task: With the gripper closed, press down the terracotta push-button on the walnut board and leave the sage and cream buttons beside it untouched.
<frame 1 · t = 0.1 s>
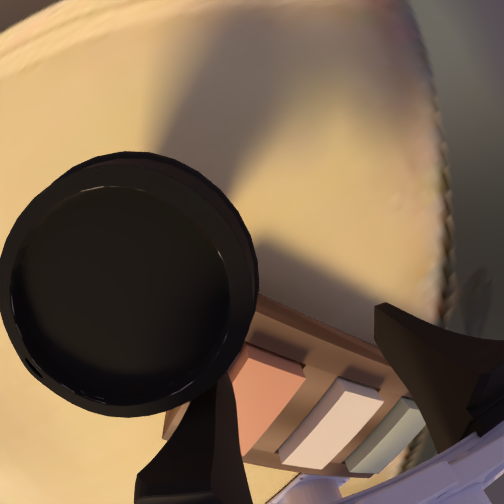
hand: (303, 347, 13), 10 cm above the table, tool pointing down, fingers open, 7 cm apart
button board: (314, 396, 27), on the table
coffee cup: (175, 222, 22), on the table
sage button: (385, 432, 25), point 4 cm above the table, slide at 0.0 cm
terracotta button: (243, 397, 22), point 4 cm above the table, slide at 0.0 cm
cream button: (325, 420, 23), point 3 cm above the table, slide at 0.0 cm
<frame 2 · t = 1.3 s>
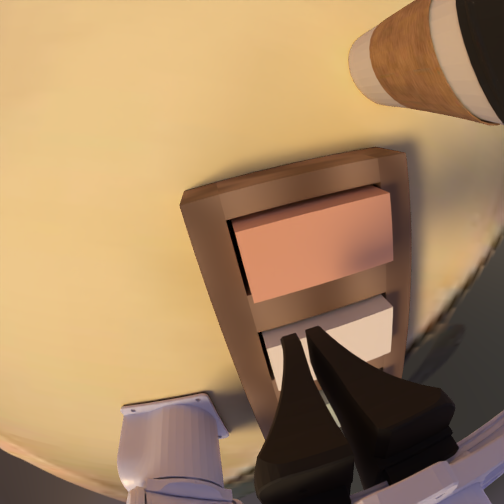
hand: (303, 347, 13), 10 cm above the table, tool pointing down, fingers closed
button board: (312, 310, 25), on the table
coffee cup: (381, 69, 19), on the table
sage button: (332, 398, 25), point 4 cm above the table, slide at 0.0 cm
terracotta button: (312, 235, 19), point 3 cm above the table, slide at 0.0 cm
cream button: (326, 335, 22), point 4 cm above the table, slide at 0.0 cm
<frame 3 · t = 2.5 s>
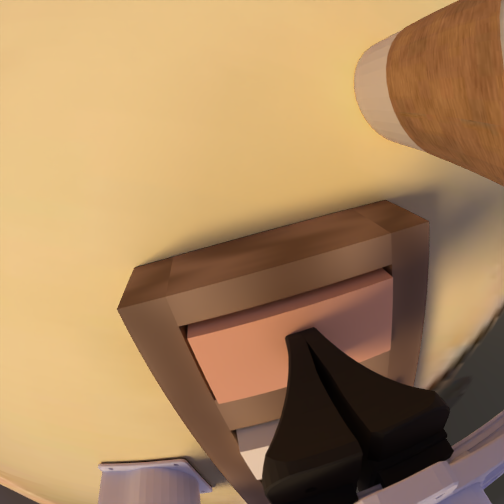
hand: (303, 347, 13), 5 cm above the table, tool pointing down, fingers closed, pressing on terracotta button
button board: (299, 387, 21), on the table
coffee cup: (398, 91, 14), on the table
terracotta button: (291, 323, 15), point 3 cm above the table, slide at 0.9 cm, touching gripper
cream button: (312, 424, 17), point 4 cm above the table, slide at 0.0 cm
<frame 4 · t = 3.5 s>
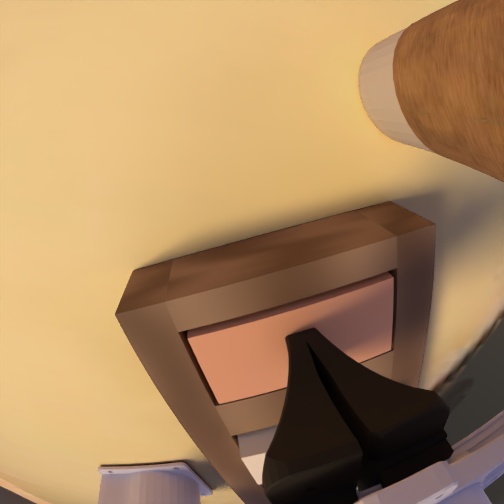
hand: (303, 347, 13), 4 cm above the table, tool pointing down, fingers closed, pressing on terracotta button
button board: (301, 391, 20), on the table
coffee cup: (402, 91, 14), on the table
terracotta button: (292, 323, 15), point 2 cm above the table, slide at 1.3 cm, touching gripper
cream button: (315, 428, 17), point 4 cm above the table, slide at 0.0 cm
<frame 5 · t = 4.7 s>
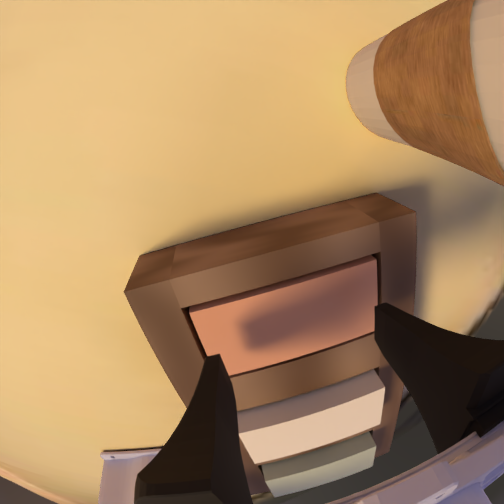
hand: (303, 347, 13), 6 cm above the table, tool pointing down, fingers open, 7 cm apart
button board: (295, 374, 22), on the table
coffee cup: (388, 90, 15), on the table
sage button: (317, 457, 22), point 3 cm above the table, slide at 0.0 cm
terracotta button: (284, 303, 17), point 2 cm above the table, slide at 1.4 cm
cream button: (308, 408, 18), point 3 cm above the table, slide at 0.0 cm
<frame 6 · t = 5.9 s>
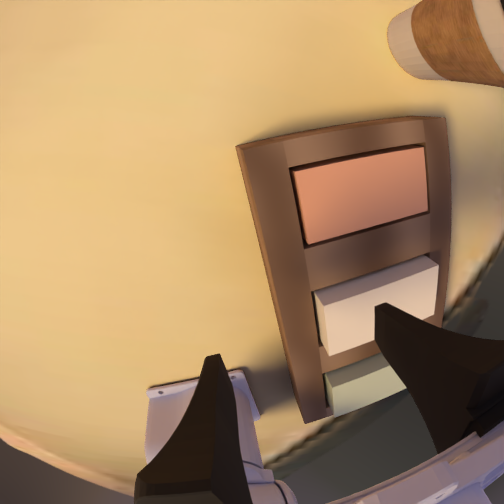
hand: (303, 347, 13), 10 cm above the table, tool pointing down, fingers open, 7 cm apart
button board: (354, 275, 25), on the table
coffee cup: (415, 46, 18), on the table
sage button: (373, 369, 25), point 4 cm above the table, slide at 0.0 cm
terracotta button: (356, 185, 19), point 2 cm above the table, slide at 1.4 cm
cream button: (373, 297, 21), point 3 cm above the table, slide at 0.0 cm
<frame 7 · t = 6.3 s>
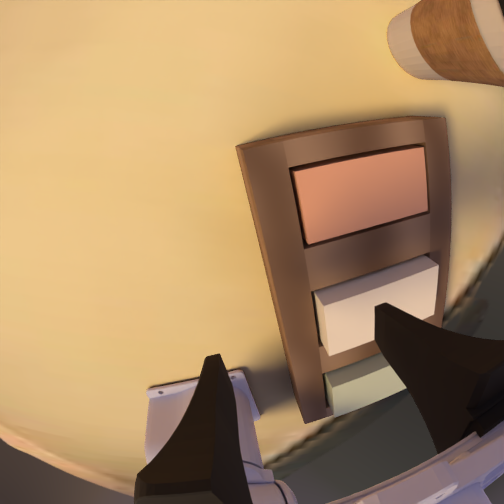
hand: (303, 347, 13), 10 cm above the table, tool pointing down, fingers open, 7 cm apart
button board: (354, 275, 25), on the table
coffee cup: (415, 46, 18), on the table
sage button: (373, 369, 25), point 3 cm above the table, slide at 0.0 cm
terracotta button: (356, 185, 19), point 2 cm above the table, slide at 1.4 cm
cream button: (373, 297, 21), point 3 cm above the table, slide at 0.0 cm
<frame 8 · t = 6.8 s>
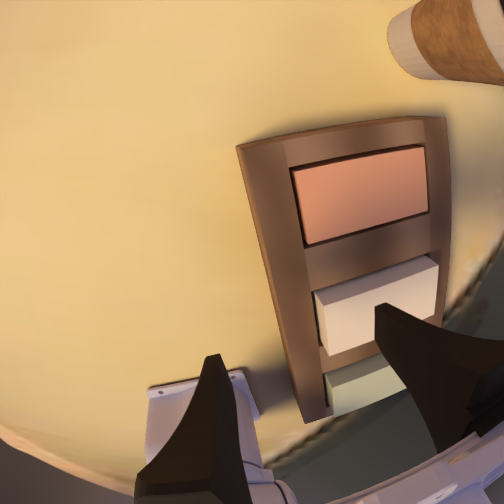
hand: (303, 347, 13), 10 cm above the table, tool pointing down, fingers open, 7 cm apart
button board: (354, 275, 25), on the table
coffee cup: (415, 46, 18), on the table
sage button: (373, 369, 25), point 3 cm above the table, slide at 0.0 cm
terracotta button: (356, 185, 19), point 2 cm above the table, slide at 1.4 cm
cream button: (373, 297, 21), point 3 cm above the table, slide at 0.0 cm
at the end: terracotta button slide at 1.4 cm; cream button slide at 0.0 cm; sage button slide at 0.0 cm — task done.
